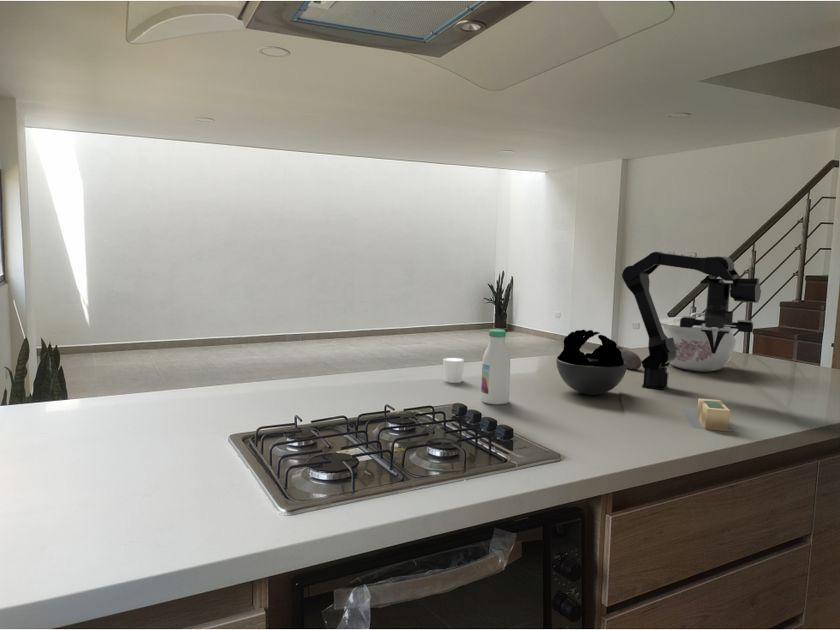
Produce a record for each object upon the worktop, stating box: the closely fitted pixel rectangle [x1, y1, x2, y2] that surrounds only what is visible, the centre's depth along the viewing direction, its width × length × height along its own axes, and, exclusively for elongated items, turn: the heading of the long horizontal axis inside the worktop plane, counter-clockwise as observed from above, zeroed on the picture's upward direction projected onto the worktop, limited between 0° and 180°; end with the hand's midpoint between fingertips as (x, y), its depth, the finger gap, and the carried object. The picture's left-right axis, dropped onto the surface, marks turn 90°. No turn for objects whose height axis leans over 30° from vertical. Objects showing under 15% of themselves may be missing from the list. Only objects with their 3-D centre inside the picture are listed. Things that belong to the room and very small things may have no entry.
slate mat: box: [681, 408, 740, 433], centre depth 147 cm, size 17×10×1 cm, turn 165°
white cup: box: [442, 357, 465, 384], centre depth 186 cm, size 7×7×7 cm
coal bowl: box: [555, 329, 628, 396], centre depth 172 cm, size 20×20×19 cm
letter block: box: [696, 398, 731, 432], centre depth 143 cm, size 5×5×10 cm
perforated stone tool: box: [616, 346, 642, 371], centre depth 212 cm, size 15×5×7 cm, turn 24°
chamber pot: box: [659, 311, 736, 373], centre depth 214 cm, size 28×28×21 cm
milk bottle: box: [480, 328, 511, 406], centre depth 161 cm, size 8×8×20 cm
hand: (713, 353), depth 170 cm, fingers closed
